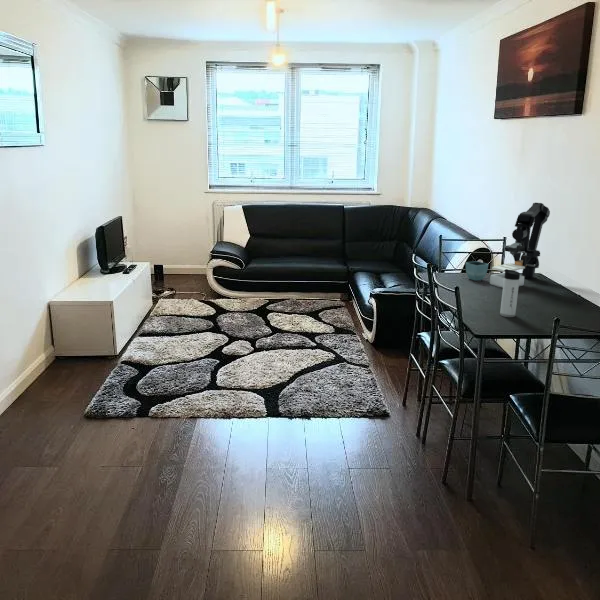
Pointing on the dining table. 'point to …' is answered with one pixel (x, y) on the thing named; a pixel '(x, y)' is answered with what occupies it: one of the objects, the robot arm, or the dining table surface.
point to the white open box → (499, 280)
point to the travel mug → (510, 293)
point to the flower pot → (476, 270)
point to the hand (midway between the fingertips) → (520, 267)
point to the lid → (510, 266)
